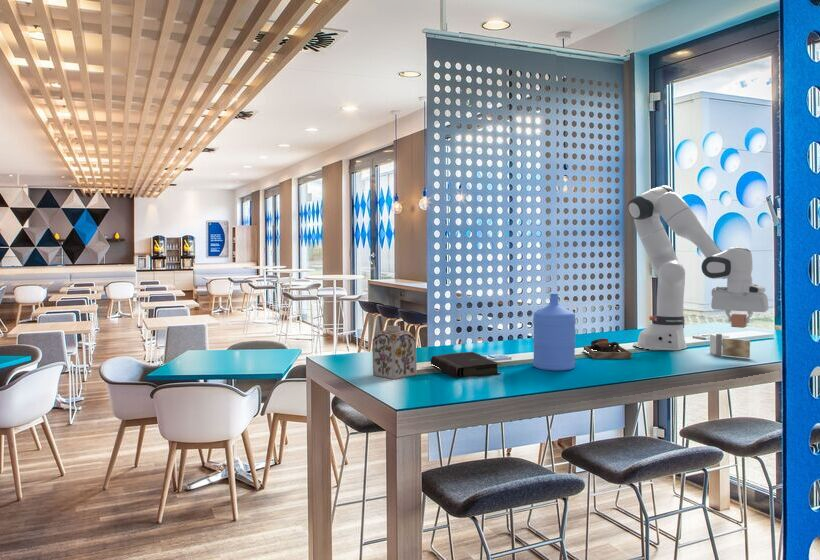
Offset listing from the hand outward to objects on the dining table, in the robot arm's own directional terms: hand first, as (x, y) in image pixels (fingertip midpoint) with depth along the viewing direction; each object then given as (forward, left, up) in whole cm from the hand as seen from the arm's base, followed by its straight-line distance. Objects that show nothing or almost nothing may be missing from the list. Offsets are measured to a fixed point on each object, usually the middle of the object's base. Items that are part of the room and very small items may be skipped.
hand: (738, 322), depth 252 cm
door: (+1, +5, -14) cm, 15 cm away
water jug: (-76, -15, -15) cm, 79 cm away
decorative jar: (-136, -29, -15) cm, 140 cm away
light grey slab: (-4, +11, -15) cm, 19 cm away
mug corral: (-49, +11, -15) cm, 52 cm away
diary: (-110, -20, -16) cm, 113 cm away
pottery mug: (-50, +10, -15) cm, 53 cm away
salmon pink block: (0, 0, -2) cm, 2 cm away
